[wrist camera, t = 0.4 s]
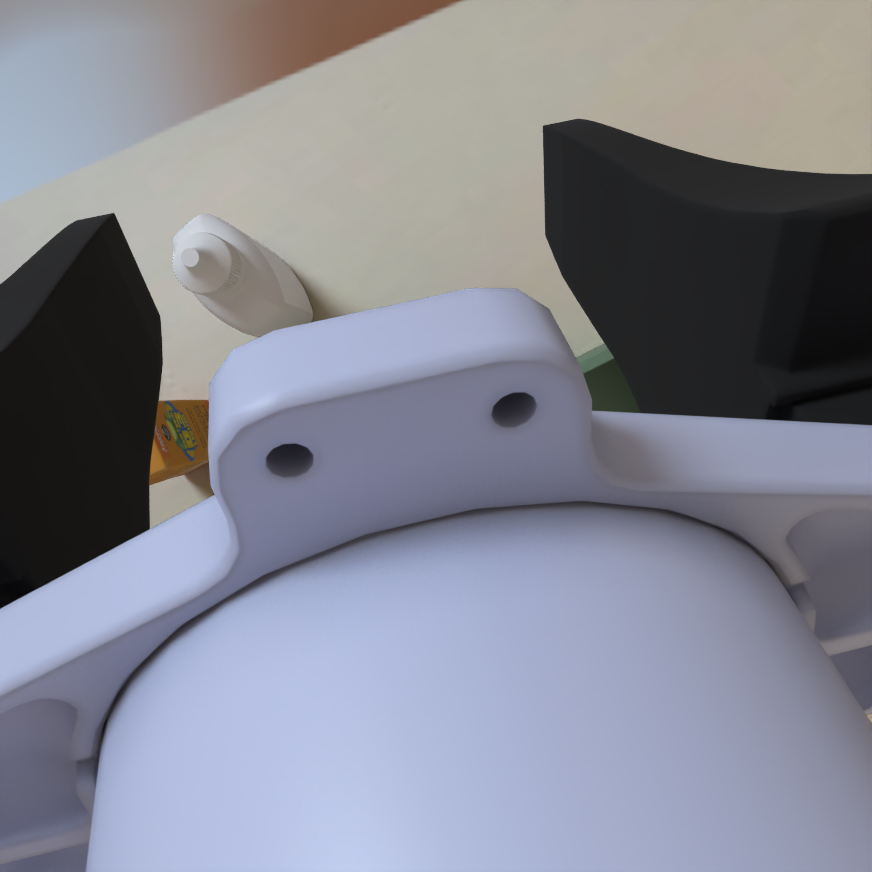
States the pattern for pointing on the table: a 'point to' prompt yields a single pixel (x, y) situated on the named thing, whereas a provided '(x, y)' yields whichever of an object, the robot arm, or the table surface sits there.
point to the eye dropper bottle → (238, 278)
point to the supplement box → (179, 438)
